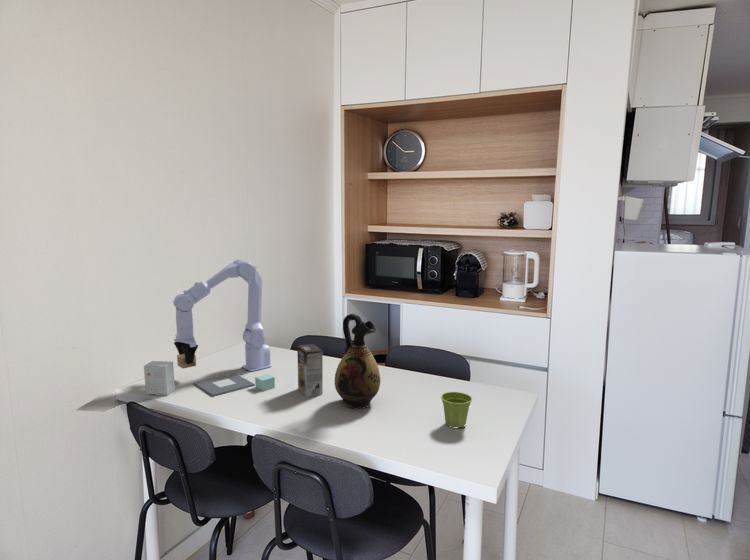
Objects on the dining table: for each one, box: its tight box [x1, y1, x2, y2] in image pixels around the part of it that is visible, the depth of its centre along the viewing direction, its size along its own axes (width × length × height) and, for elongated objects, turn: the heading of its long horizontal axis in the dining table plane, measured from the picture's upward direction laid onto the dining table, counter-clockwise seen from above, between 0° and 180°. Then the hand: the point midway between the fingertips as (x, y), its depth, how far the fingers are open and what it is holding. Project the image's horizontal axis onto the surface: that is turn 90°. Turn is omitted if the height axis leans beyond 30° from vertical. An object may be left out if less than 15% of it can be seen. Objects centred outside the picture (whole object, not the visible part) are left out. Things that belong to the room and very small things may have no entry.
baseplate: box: [193, 372, 256, 397], centre depth 182 cm, size 16×16×1 cm
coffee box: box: [296, 343, 324, 398], centre depth 175 cm, size 9×6×16 cm
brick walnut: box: [176, 354, 197, 369], centre depth 186 cm, size 5×5×4 cm
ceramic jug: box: [334, 313, 381, 409], centre depth 165 cm, size 17×15×30 cm
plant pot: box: [440, 391, 473, 428], centre depth 150 cm, size 9×9×9 cm
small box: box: [143, 360, 176, 396], centre depth 174 cm, size 8×6×10 cm
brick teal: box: [254, 373, 276, 392], centre depth 180 cm, size 5×5×4 cm
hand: (186, 361), depth 186 cm, fingers closed on brick walnut, 5 cm apart
